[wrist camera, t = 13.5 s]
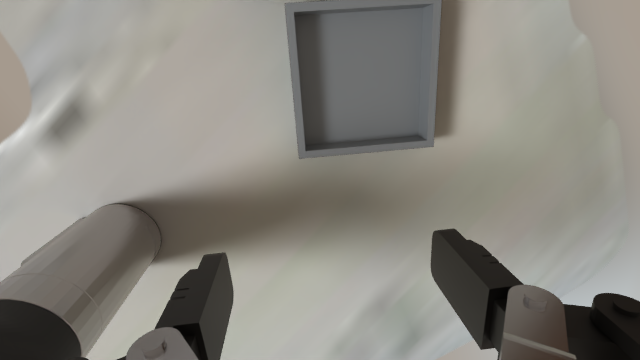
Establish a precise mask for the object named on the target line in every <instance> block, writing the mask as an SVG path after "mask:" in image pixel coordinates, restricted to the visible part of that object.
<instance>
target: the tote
mask: <svg viewBox="0 0 640 360" xmlns="http://www.w3.org/2000/svg"><path fill="white" fill-rule="evenodd" d="M441 2H442V0H330V1H313V2H296V3H285V13H286V24H287V35H288V46H289V57H290V67H291V78H292V89H293V100H294V111H295V121H296V132H297V143H298V153H299V159H302V158H313V157H324V156H335V155H347V154H358V153H369V152H380V151H391V150H403V149H414V148H425V147H434V130H435V112H436V93H437V75H438V57H439V39H440V20H441Z"/></svg>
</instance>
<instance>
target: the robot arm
mask: <svg viewBox="0 0 640 360" xmlns="http://www.w3.org/2000/svg"><path fill="white" fill-rule="evenodd" d="M160 246H161V236H160V232H159V229H158V227H157V225H156V224H155V222H154V221H153V220H152V219H151V218H150V217H149V216H148V215H147V214H146V213H144V212H143V211H141V210H139V209H137V208H135V207H132V206H128V205H122V204H112V205H107V206H103V207H101V208H99V209H97V210H95V211H94V212H93V213H91V214H90V215H89V216H87V217H86V218H83V219H79V220H77V221H76V222H75V223H73V224H72V225H71V226H69V227H68V228H67V229H65V230H64V231H63V232H61V233H60V234H58V235H57V236H56V237H54V238H53V239H52V240H50V241H49V242H48V243H46V244H45V245H44V246H42V247H41V248H40V249H38V250H37V251H35V252H34V253H33V254H31V255H30V256H29V257H27V258H26V259H25V260H23V261H22V263H21V267H20V268H18V269H17V270H16V271H15V272H13V273H12V274H11V275H9V276H8V277H7V278H5V279H4V280H3V281H1V282H0V360H88V359H87V358H85V357H86V356H87V354H88V353H89V352H90V350H91V349H92V347H93V346H94V344H95V343H96V341H97V340H98V338H99V337H100V335H101V334H102V333H103V331H104V330H105V328H106V327H107V325H108V324H109V323H110V321H111V320H112V318H113V317H114V315H115V314H116V312H117V311H118V310H119V308H120V307H121V305H122V304H123V302H124V301H125V299H126V298H127V297H128V295H129V294H130V292H131V291H132V289H133V288H134V287H135V285H136V284H137V282H138V281H139V279H140V278H141V276H142V275H143V274H144V272H145V271H146V269H147V268H148V266H149V265H150V263H151V262H152V260H153V259H154V258H155V256H156V255H157V253H158V251H159V249H160ZM431 272H432V276H433V278H434V280H435V282H436V284H437V285H438V287H439V288H440V290H441V291H442V292H443V294H444V295H445V297H446V298H447V300H448V301H449V303H450V304H451V306H452V307H453V309H454V310H455V312H456V313H457V315H458V316H459V318H460V319H461V321H462V322H463V324H464V325H465V327H466V328H467V330H468V331H469V333H470V334H471V335H472V337H473V338H474V340H475V341H476V343H477V344H478V346H479V347H480V349H481V350H482V349H490V348H496V350H497V351H498V352H499V353H498V359H497V360H640V302H639V301H637V300H635V299H632V298H630V297H627V296H623V295H619V294H613V293H602V294H598V295H596V296H595V297H594V300H593V303H592V307H585V306H576V305H567V304H563V303H562V302H561V300H560V299H559V298H558V297H556V296H555V295H554V294H552V293H550V292H549V291H547V290H545V289H542V288H539V287H536V286H531V285H524V284H523V283H521V282H520V281H519V280H518V279H517V278H516V277H515V276H514V275H513V274H512V273H511V272H510V271H509V270H508V269H507V268H505V267H504V266H503V265H502V264H501V263H499V261H498V260H497V259H496V258H495V257H494V256H492V254H491V253H489V252H488V251H487V250H486V249H485V248H484V247H483V246H481V245H479V244H477V243H475V242H473V241H472V240H466V239H465V238H464V237H463V236H462V235H461V234H460V233H459V232H458V231H457V230H456V229H446V230H437V231H434V232H433V236H432V251H431ZM232 305H233V285H232V280H231V275H230V269H229V264H228V259H227V255H226V253H216V254H206V255H204V256H203V258H202V260H201V263H200V265H199V267H198V269H192V270H189V271H188V272H187V273H186V274H185V275H184V276H183V277H182V278H181V279H180V280H179V282H178V284H177V286H176V288H175V291H174V292H173V294H172V296H171V298H170V300H169V302H168V304H167V306H166V308H165V309H164V311H163V313H162V315H161V317H160V319H159V321H158V323H157V325H156V327H155V329H154V330H152V331H150V332H148V333H146V334H145V335H143V336H141V337H140V338H139V339H138V340H136V341H135V342H134V343H133V344H132V346H131V347H130V348H129V350H128V352H127V355H126V356H125V357H122V358H120V359H117V360H220V357H221V352H222V348H223V344H224V339H225V335H226V331H227V327H228V322H229V318H230V314H231V309H232Z"/></svg>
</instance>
